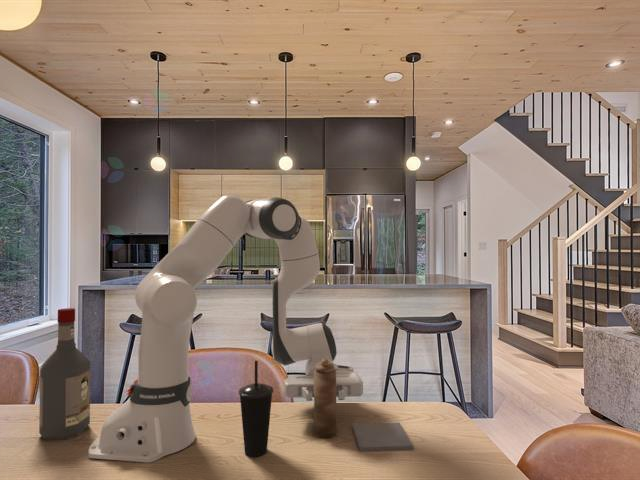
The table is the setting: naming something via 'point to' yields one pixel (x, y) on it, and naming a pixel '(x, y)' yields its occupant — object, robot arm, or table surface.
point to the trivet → (381, 436)
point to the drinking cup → (255, 416)
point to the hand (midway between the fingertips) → (325, 397)
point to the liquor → (64, 385)
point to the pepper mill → (325, 400)
